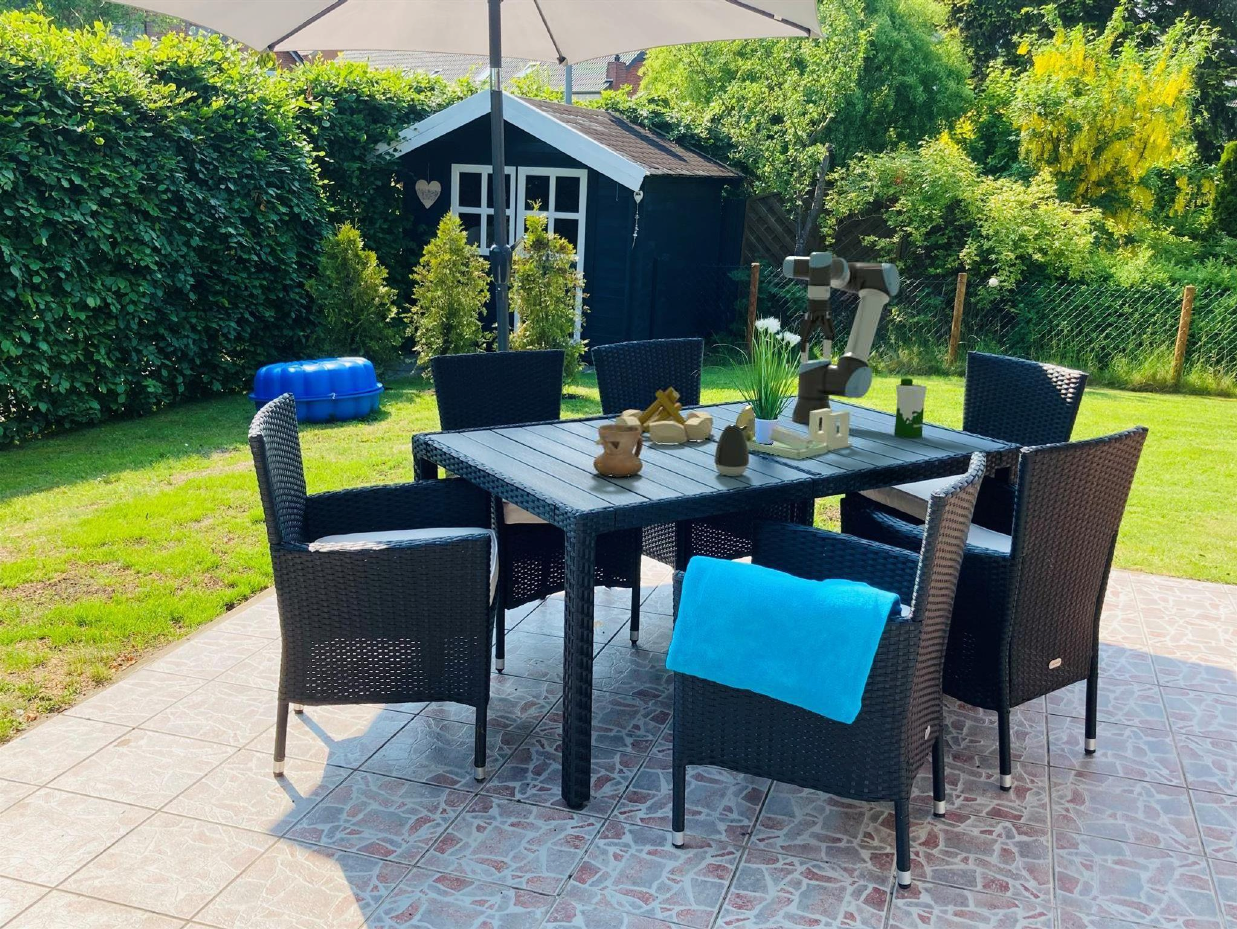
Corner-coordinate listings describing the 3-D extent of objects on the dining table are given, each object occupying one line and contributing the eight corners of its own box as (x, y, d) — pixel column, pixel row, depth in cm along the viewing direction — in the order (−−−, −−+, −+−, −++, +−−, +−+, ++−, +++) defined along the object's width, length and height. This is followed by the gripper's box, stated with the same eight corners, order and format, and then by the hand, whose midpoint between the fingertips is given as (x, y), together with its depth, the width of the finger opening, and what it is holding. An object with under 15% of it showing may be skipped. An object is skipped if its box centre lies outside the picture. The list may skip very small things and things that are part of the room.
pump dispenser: (756, 476, 319) (758, 425, 315) (728, 480, 313) (730, 428, 310) (734, 469, 327) (736, 420, 324) (707, 473, 322) (708, 423, 318)
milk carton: (904, 432, 388) (908, 377, 383) (926, 436, 381) (930, 380, 377) (890, 435, 382) (893, 379, 378) (911, 439, 375) (916, 382, 371)
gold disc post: (728, 439, 363) (733, 405, 359) (750, 434, 372) (756, 401, 368) (794, 466, 345) (801, 430, 342) (816, 460, 354) (823, 426, 350)
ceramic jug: (611, 483, 308) (613, 434, 305) (579, 473, 319) (581, 426, 316) (657, 475, 320) (660, 428, 317) (625, 466, 330) (627, 420, 327)
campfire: (728, 433, 384) (730, 385, 380) (689, 450, 355) (691, 399, 351) (640, 423, 400) (641, 378, 396) (596, 439, 370) (596, 390, 367)
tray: (752, 438, 374) (752, 431, 373) (827, 452, 353) (827, 445, 352) (722, 444, 363) (722, 437, 362) (798, 459, 341) (799, 451, 341)
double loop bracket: (804, 445, 364) (805, 411, 361) (824, 440, 372) (826, 407, 369) (831, 450, 356) (833, 416, 353) (851, 445, 364) (854, 411, 362)
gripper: (806, 300, 357) (803, 364, 362) (848, 297, 375) (844, 358, 379) (788, 299, 362) (785, 362, 367) (830, 296, 380) (826, 356, 384)
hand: (815, 360), depth 373 cm, fingers open, 13 cm apart
